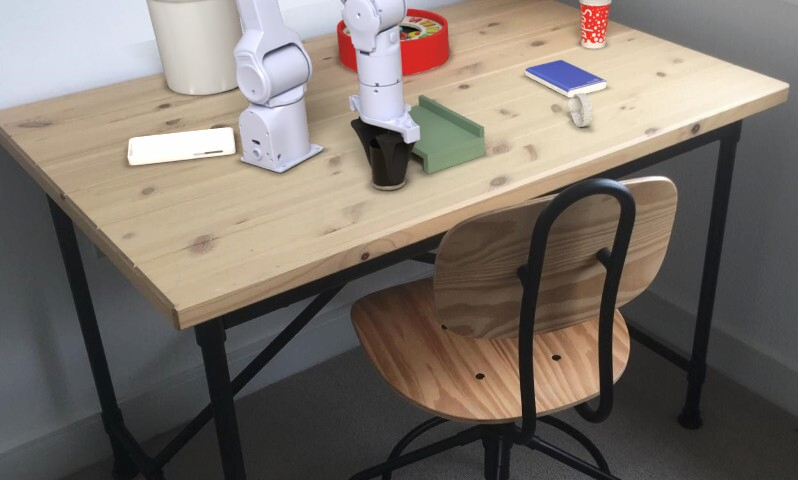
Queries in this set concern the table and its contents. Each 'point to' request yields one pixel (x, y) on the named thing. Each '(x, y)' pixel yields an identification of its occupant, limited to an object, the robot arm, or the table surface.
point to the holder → (381, 169)
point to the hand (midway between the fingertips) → (388, 173)
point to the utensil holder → (197, 43)
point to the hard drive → (565, 78)
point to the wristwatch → (576, 105)
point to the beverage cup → (594, 22)
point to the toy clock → (408, 42)
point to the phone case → (180, 146)
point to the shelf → (445, 136)
